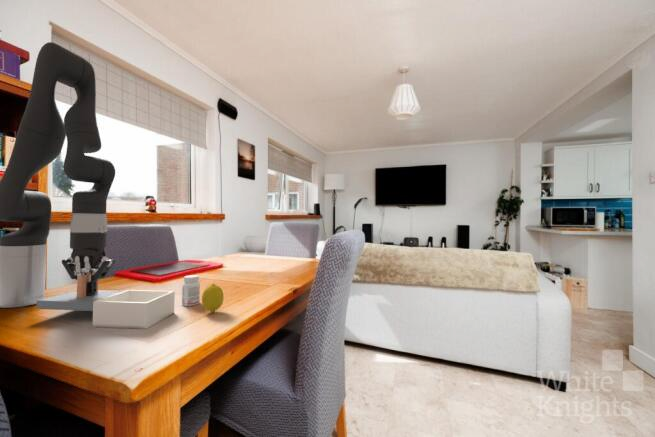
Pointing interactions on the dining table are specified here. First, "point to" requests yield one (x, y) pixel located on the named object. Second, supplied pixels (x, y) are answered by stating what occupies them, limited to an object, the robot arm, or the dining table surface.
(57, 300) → the lid
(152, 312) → the box
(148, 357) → the dining table surface
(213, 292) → the lemon
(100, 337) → the dining table surface
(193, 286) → the pill bottle
